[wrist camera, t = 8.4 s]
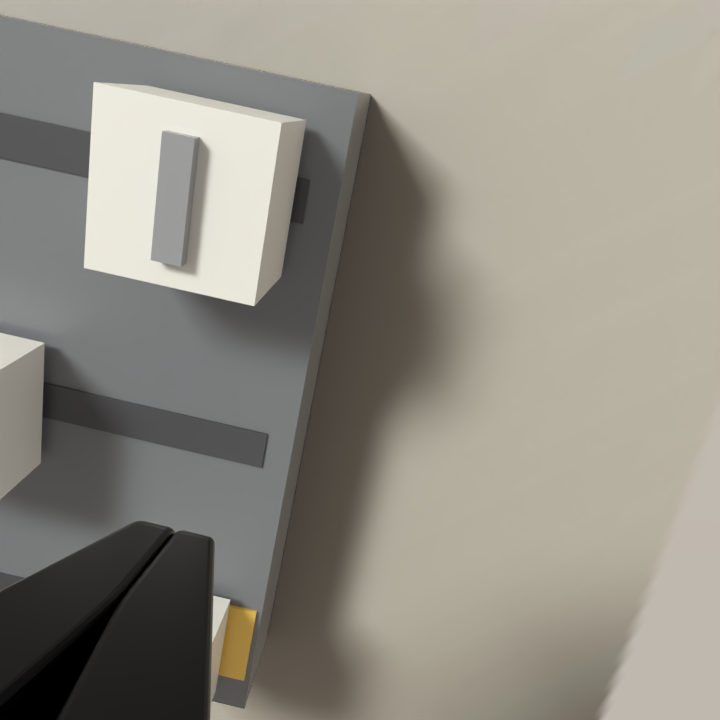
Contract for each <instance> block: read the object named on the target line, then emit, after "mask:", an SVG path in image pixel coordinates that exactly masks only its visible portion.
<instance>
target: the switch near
mask: <svg viewBox="0 0 720 720" xmlns="http://www.w3.org/2000/svg"><path fill="white" fill-rule="evenodd" d="M305 126H306V120H305V119H300V118H295V117H291V116H286V115H281V114H277V113H272V112H268V111H263V110H258V109H254V108H249V107H245V106H240V105H235V104H231V103H226V102H221V101H217V100H212V99H208V98H203V97H198V96H194V95H189V94H184V93H180V92H175V91H171V90H166V89H161V88H157V87H152V86H146V85H131V84H116V83H101V82H94V84H93V102H92V121H91V140H90V159H89V178H88V197H87V216H86V235H85V253H84V268H87V269H91V270H96V271H100V272H104V273H109V274H113V275H118V276H122V277H127V278H131V279H136V280H140V281H144V282H149V283H153V284H158V285H162V286H167V287H171V288H176V289H180V290H184V291H189V292H193V293H198V294H202V295H207V296H211V297H216V298H220V299H224V300H229V301H233V302H238V303H242V304H247V305H251V306H255V305H256V304H257V303H258V302H259V300H260V299H261V298H262V297H263V296H264V295H265V294H266V293H267V292H268V291H269V289H270V288H271V287H272V286H273V285H274V284H275V283H276V282H277V281H278V280H279V279H280V277H281V275H282V268H283V262H284V256H285V250H286V244H287V237H288V231H289V225H290V219H291V213H292V206H293V200H294V194H295V188H296V182H297V176H298V169H299V163H300V157H301V151H302V145H303V138H304V132H305Z"/></svg>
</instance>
